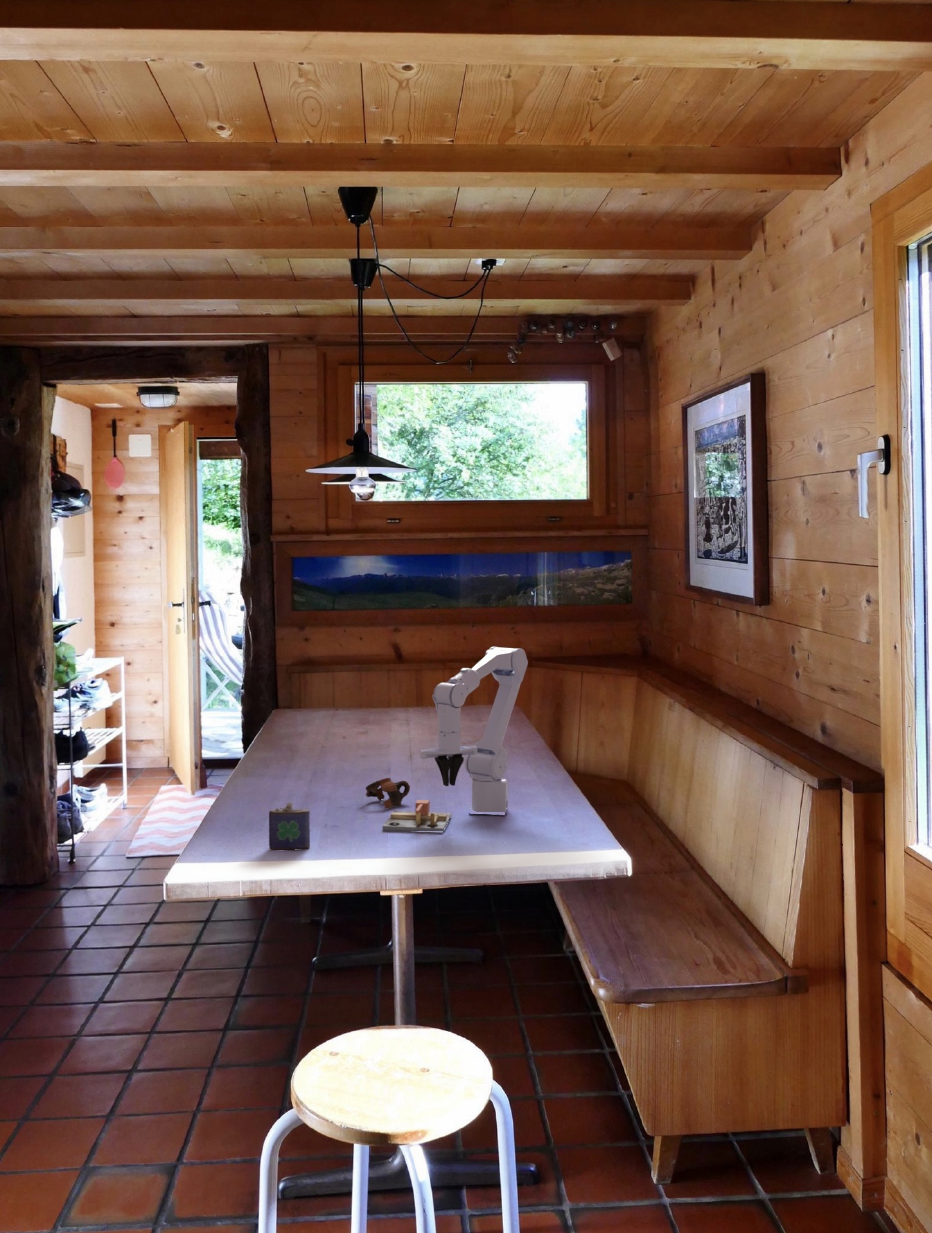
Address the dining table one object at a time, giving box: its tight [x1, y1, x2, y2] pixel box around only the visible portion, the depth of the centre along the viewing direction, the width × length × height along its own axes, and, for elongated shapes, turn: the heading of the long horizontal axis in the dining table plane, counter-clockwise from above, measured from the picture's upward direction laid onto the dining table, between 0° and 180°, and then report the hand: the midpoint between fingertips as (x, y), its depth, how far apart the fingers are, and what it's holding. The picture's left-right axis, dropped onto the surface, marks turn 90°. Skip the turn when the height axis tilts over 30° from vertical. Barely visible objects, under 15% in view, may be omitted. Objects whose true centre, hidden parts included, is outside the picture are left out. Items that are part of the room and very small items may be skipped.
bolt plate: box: [382, 810, 453, 832], centre depth 237 cm, size 15×14×1 cm
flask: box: [268, 802, 311, 851], centre depth 216 cm, size 9×3×11 cm, turn 95°
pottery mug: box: [365, 777, 411, 809], centre depth 257 cm, size 12×10×8 cm
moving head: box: [414, 799, 431, 824], centre depth 234 cm, size 3×9×4 cm, turn 173°
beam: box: [390, 811, 447, 826], centre depth 235 cm, size 14×7×3 cm, turn 83°
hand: (449, 785), depth 236 cm, fingers closed
